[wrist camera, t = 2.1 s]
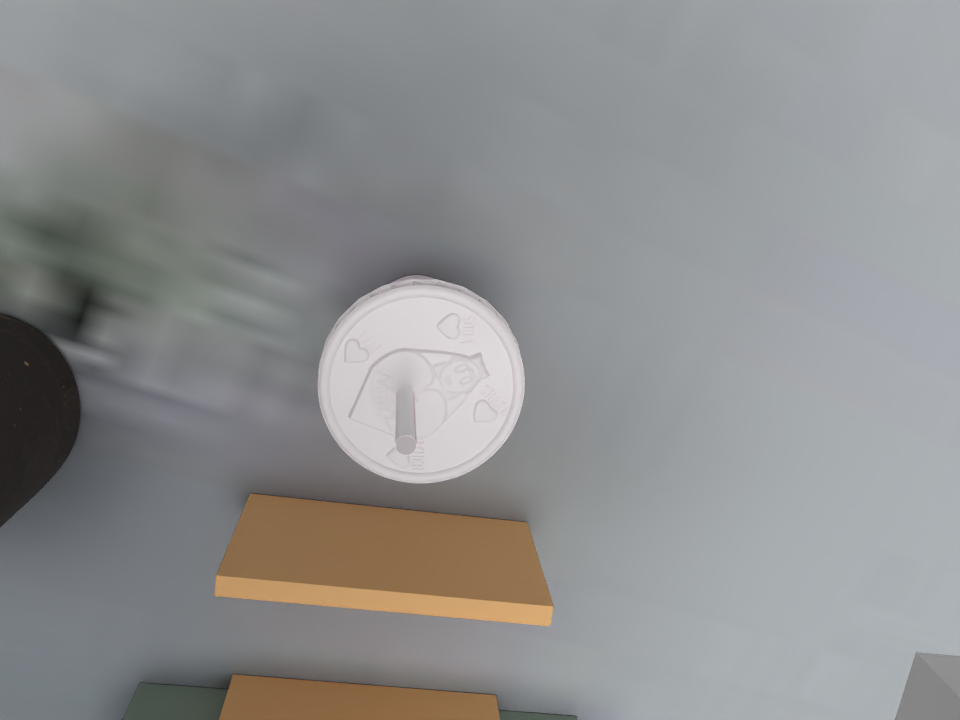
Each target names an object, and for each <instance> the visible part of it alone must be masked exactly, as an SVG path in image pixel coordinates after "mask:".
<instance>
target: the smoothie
mask: <svg viewBox="0 0 960 720" xmlns="http://www.w3.org/2000/svg"><path fill="white" fill-rule="evenodd" d="M524 390H525V377H524V367H523V363H522V359H521V354H520V350H519V346H518V342H517V340H516V338H515V336H514V335H513V333H512V331H511V329H510V327H509V325H508V324H507V322H506V320H505V319H504V318H503V317H502V316H501V315H500V314H499V313H498V311H497V310H496V309H495V308H494V307H493V306H492V305H491V304H490V303H489V302H488V301H487V300H485V299H483V298H482V297H480V296H478V295H477V294H475V293H473V292H472V291H470V290H468V289H467V288H465V287H463V286H460V285H456V284H452V283H449V282H445V281H442V280H438V279H434V278H432V277H428V276H423V275H411V276H406V277H402V278H399V279H397V280H395V281H393V282H392V283H390V284H386V285H383V286H381V287H379V288H377V289H375V290H374V291H372V292H370V293H368V294H366V295H364V296H363V297H361V298H359V299H358V300H357V301H356V302H355V303H354V304H353V305H352V306H351V307H349V308H348V309H347V310H346V311H345V312H344V313H343V314H342V315H341V316H340V317H339V318H338V320H337V322H336V324H335V325H334V327H333V329H332V330H331V332H330V334H329V335H328V337H327V339H326V340H325V344H324V348H323V352H322V355H321V359H320V363H319V373H318V398H319V404H320V408H321V412H322V415H323V418H324V420H325V423H326V425H327V427H328V429H329V431H330V433H331V435H332V436H333V438H334V439H335V441H336V442H337V443H338V445H339V446H340V447H341V448H342V449H343V450H344V452H345V453H346V454H347V455H348V456H350V457H351V458H352V459H353V460H354V461H355V462H357V463H358V464H360V465H361V466H363V467H364V468H366V469H368V470H369V471H371V472H373V473H375V474H377V475H380V476H382V477H385V478H388V479H391V480H395V481H400V482H406V483H420V484H422V483H434V482H441V481H445V480H450V479H453V478H456V477H459V476H461V475H463V474H466V473H468V472H470V471H472V470H473V469H475V468H477V467H478V466H480V465H481V464H483V463H484V462H486V461H487V460H488V459H489V458H490V457H492V456H493V455H494V454H495V453H496V452H497V451H498V450H499V449H500V447H501V446H502V445H503V444H504V443H505V441H506V440H507V438H508V437H509V435H510V434H511V432H512V430H513V428H514V427H515V425H516V422H517V420H518V418H519V415H520V412H521V408H522V404H523V399H524Z"/></svg>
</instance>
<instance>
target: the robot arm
mask: <svg viewBox="0 0 960 720" xmlns="http://www.w3.org/2000/svg"><path fill="white" fill-rule="evenodd" d="M895 720H960V656H952V655H941V654H931V653H920V652H916V654H915V657H914V660H913V664H912V667H911V670H910V673H909V676H908V680H907V683H906V686H905V689H904V692H903V696H902V699H901V702H900V705H899V708H898V712H897V715H896V718H895Z"/></svg>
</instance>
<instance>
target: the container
mask: <svg viewBox="0 0 960 720" xmlns="http://www.w3.org/2000/svg"><path fill="white" fill-rule="evenodd" d="M79 417H80V409H79V398H78V392H77V387H76V384H75V381H74V378H73V375H72V373H71V371H70V369H69V367H68V365H67V363H66V361H65V360H64V358H63V357H62V355H61V353H60V352H59V351H58V349H57V348H56V347H55V346H54V345H53V344H52V343H51V342H50V341H49V340H48V339H47V338H46V337H45V336H44V335H43V334H41V333H40V332H38V331H37V330H36V329H34V328H32V327H31V326H29V325H27V324H25V323H23V322H21V321H19V320H16V319H14V318H12V317H10V316H5V315H1V314H0V527H1V526H2V525H3V524H4V523H5V522H6V521H8V520H9V519H10V518H11V517H12V516H13V515H14V514H15V513H16V512H17V511H18V510H19V509H20V508H21V507H23V506H24V505H25V504H26V503H27V502H28V501H29V500H30V499H31V498H32V497H33V496H34V495H35V494H36V493H38V492H39V491H40V490H41V489H42V488H43V486H44V485H45V484H46V483H47V482H48V481H49V480H50V479H51V478H52V477H53V476H54V474H55V473H56V472H57V471H58V470H59V468H60V467H61V466H62V464H63V463H64V461H65V460H66V458H67V456H68V455H69V453H70V451H71V449H72V447H73V445H74V442H75V439H76V435H77V431H78V426H79Z"/></svg>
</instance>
